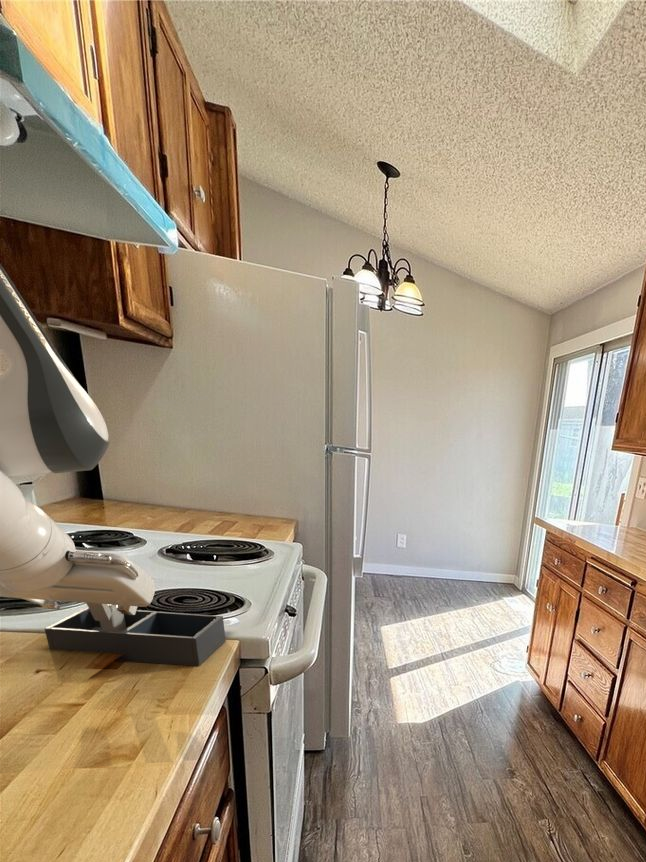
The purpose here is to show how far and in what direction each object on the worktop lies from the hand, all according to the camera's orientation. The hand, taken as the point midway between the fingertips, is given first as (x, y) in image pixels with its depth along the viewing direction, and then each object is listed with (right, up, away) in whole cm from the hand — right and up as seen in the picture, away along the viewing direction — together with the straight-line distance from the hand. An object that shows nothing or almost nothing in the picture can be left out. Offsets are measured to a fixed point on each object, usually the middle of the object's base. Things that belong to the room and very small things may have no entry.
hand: (93, 607), depth 75 cm
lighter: (0, -4, +4) cm, 6 cm away
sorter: (+4, -5, +5) cm, 8 cm away
